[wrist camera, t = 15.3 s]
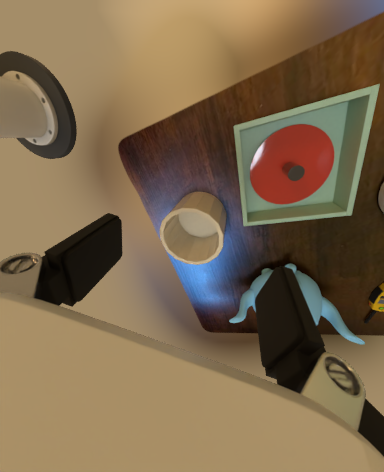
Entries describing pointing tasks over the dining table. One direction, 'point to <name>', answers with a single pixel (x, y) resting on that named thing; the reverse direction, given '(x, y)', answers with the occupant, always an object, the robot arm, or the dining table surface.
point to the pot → (195, 228)
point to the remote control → (376, 301)
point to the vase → (381, 197)
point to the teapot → (312, 297)
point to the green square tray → (344, 167)
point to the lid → (292, 164)
